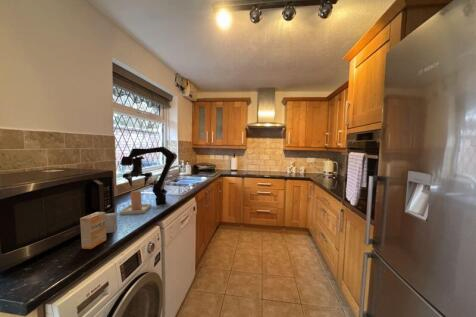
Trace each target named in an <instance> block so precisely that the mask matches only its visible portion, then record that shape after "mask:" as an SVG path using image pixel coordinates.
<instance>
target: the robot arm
mask: <svg viewBox="0 0 476 317" xmlns="http://www.w3.org/2000/svg"><path fill="white" fill-rule="evenodd" d="M155 153H161V154H162V155H163V156H164V157H165V164H164V167H163V169H162V172H161V174H160V177H159V179H158V181H156V182H154V183H153V187H152V193H153V194H154V195H155V206H158V205H159V206H161V205H166V204H167V203H168V202H167V191H168V190H166V189H165V182H166V180H167V176H168V175H169V173H170V169H171V168H172V165H173V164H174V163H175V161H176V159H177V158H178V155H177V153H175V152H173V151H171V150H170V149H168V148H166V147H165V146H158V147H157V146H156V147H149V148H141V147H140V148H137V147H134V148H132V149H131V151H130V154H128V156H122V157H121V159H120V164H121V166H122V167H123V166H126V167H127V166H128V167H129V166H132V169H131V171H130V172H125V173H122V178H123V179H124V180H127V181H128V184H129V185H130V187H131V188H133V178H134V177H135V178H138V177H144V183H143V184H144V187H146V186H147V184H148V181H149V178H151V177H153V172H151V171H150V172H143V166H142V163H143V161H142V160H144V159H145V157H144V155H147V154H155Z"/></svg>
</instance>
